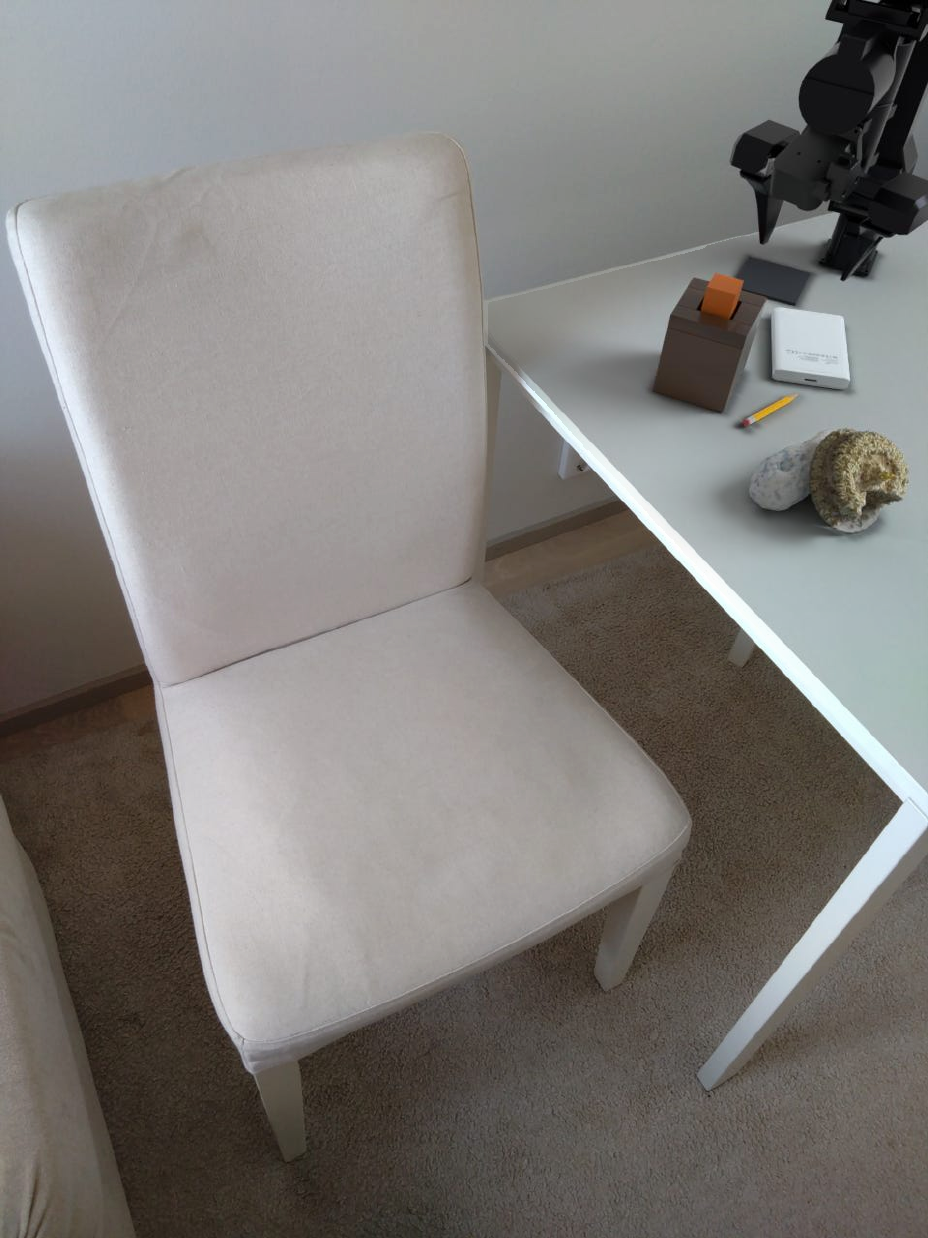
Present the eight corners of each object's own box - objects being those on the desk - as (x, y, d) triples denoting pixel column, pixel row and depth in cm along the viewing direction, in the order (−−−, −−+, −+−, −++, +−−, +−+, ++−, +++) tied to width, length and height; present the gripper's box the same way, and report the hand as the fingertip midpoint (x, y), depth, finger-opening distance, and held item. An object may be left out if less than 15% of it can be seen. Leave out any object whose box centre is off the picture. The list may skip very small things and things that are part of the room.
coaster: (748, 258, 118) (749, 255, 118) (810, 274, 116) (810, 272, 116) (731, 287, 113) (732, 285, 113) (795, 305, 111) (796, 303, 111)
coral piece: (788, 454, 85) (830, 442, 80) (862, 413, 88) (907, 400, 83) (827, 550, 86) (871, 545, 81) (898, 507, 89) (945, 500, 84)
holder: (675, 352, 104) (693, 276, 97) (743, 373, 102) (767, 297, 95) (652, 390, 100) (670, 314, 92) (722, 413, 98) (746, 336, 90)
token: (706, 307, 96) (715, 272, 93) (733, 315, 95) (744, 280, 92) (697, 321, 94) (706, 286, 91) (725, 329, 94) (735, 294, 90)
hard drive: (839, 327, 109) (846, 390, 101) (769, 318, 109) (771, 379, 102) (844, 315, 107) (851, 378, 100) (773, 305, 108) (775, 367, 100)
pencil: (741, 423, 96) (743, 418, 96) (794, 394, 100) (796, 389, 99) (747, 427, 96) (749, 422, 95) (799, 398, 99) (801, 393, 99)
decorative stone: (783, 536, 86) (801, 498, 82) (734, 494, 90) (748, 455, 86) (876, 485, 91) (897, 446, 87) (825, 447, 95) (843, 408, 91)
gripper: (717, 83, 79) (679, 253, 91) (916, 158, 71) (845, 333, 83) (786, 51, 84) (741, 215, 96) (979, 117, 76) (903, 287, 88)
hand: (803, 260), depth 91 cm, fingers open, 9 cm apart
